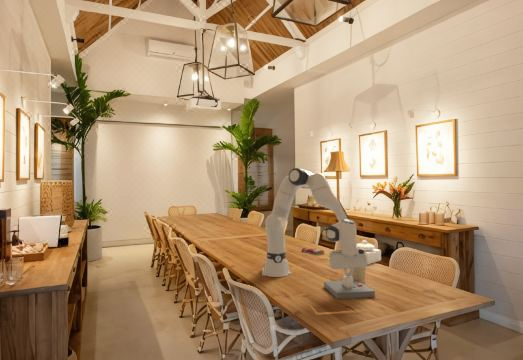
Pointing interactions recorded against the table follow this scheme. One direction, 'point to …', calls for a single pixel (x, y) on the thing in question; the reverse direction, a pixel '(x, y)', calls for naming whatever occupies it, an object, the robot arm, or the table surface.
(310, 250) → the pencil case
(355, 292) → the socket plate
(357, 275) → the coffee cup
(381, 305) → the table surface
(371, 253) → the butter dish
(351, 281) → the plug
